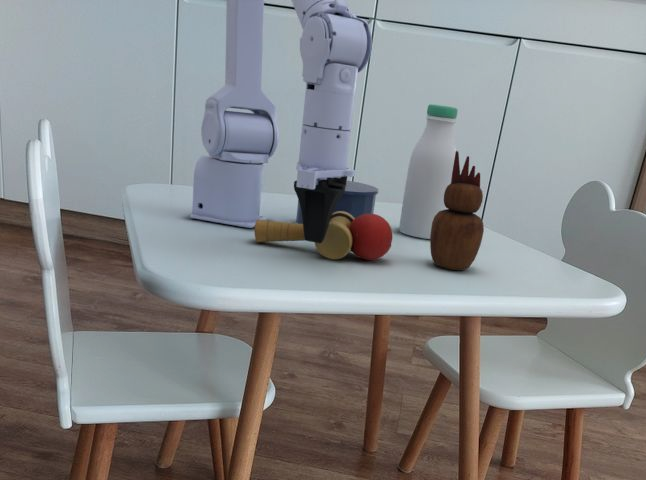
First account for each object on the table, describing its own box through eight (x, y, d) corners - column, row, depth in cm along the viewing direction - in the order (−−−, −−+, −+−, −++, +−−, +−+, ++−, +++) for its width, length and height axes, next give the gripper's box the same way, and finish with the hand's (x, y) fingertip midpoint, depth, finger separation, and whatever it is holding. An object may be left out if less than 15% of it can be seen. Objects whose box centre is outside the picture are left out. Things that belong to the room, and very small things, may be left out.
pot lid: (287, 189, 99) (290, 164, 97) (309, 181, 110) (311, 158, 109) (370, 203, 97) (373, 177, 96) (383, 193, 108) (386, 170, 107)
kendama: (248, 258, 87) (389, 261, 85) (248, 208, 86) (390, 209, 84) (264, 257, 95) (393, 259, 93) (263, 210, 94) (394, 212, 92)
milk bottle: (439, 242, 107) (463, 108, 100) (392, 233, 109) (412, 101, 102) (449, 235, 114) (472, 109, 107) (405, 227, 116) (424, 103, 109)
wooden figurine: (421, 266, 91) (440, 149, 85) (431, 258, 96) (450, 148, 90) (471, 276, 89) (494, 158, 83) (478, 268, 94) (501, 156, 89)
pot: (287, 230, 101) (291, 185, 99) (307, 218, 111) (311, 178, 109) (362, 243, 99) (368, 198, 97) (375, 230, 110) (381, 189, 108)
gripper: (346, 134, 73) (331, 258, 78) (370, 130, 86) (356, 236, 91) (283, 125, 74) (272, 247, 79) (316, 122, 87) (305, 227, 92)
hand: (313, 241), depth 85 cm, fingers closed
